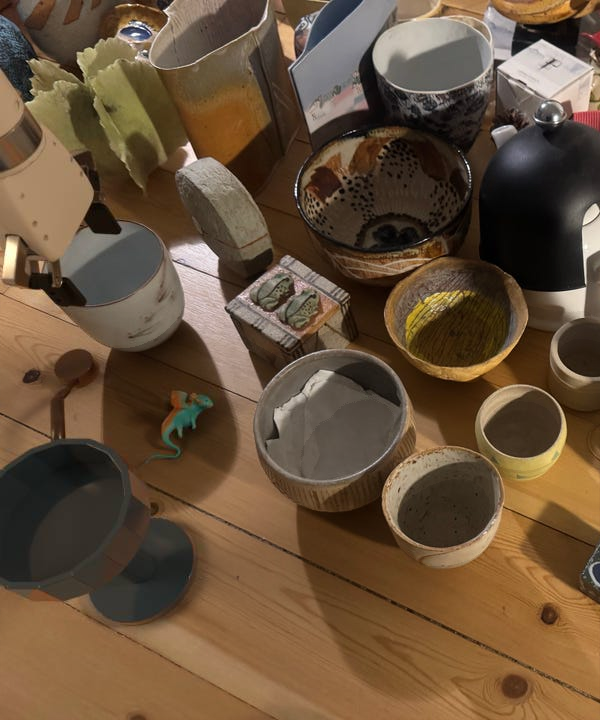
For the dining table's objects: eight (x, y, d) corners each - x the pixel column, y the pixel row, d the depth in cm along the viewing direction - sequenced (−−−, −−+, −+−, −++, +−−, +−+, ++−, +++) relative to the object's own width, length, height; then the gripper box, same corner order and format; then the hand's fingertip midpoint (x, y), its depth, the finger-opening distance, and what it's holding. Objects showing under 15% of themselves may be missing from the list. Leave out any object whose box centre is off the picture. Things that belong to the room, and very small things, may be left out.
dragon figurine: (216, 458, 81) (214, 388, 82) (144, 462, 78) (144, 390, 79) (212, 461, 87) (211, 396, 88) (146, 465, 84) (145, 398, 85)
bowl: (59, 571, 76) (-59, 509, 60) (167, 488, 80) (84, 410, 65) (120, 666, 70) (9, 625, 55) (232, 571, 75) (159, 509, 59)
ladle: (61, 363, 90) (31, 333, 84) (99, 352, 90) (71, 322, 85) (66, 491, 80) (32, 468, 75) (107, 478, 81) (77, 454, 75)
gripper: (-4, 71, 65) (89, 205, 80) (-104, 209, 56) (21, 331, 71) (74, 74, 65) (153, 208, 79) (-15, 214, 56) (93, 336, 70)
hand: (91, 266), depth 75 cm, fingers open, 9 cm apart
